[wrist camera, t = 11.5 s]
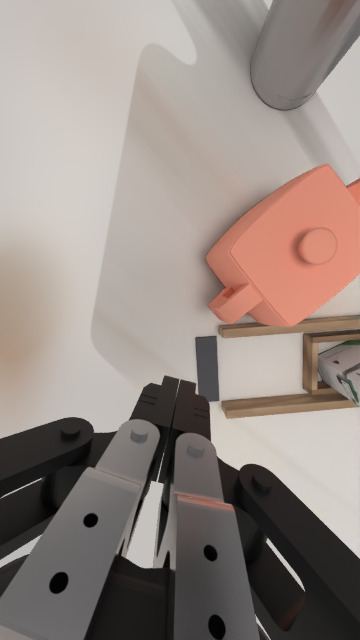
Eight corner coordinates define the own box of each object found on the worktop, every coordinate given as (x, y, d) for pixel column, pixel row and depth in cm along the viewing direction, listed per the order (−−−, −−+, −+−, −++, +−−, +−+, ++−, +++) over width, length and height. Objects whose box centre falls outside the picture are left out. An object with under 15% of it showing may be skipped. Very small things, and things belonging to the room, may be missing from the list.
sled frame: (303, 333, 39) (312, 337, 36) (384, 327, 39) (399, 330, 37) (302, 388, 40) (311, 395, 37) (381, 381, 40) (395, 387, 38)
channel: (218, 325, 38) (223, 329, 35) (398, 312, 39) (417, 314, 36) (222, 408, 40) (226, 418, 37) (393, 393, 41) (410, 402, 38)
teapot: (298, 165, 35) (387, 89, 21) (351, 238, 37) (464, 214, 23) (177, 274, 36) (183, 270, 22) (233, 339, 38) (272, 373, 24)
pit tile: (195, 337, 38) (195, 338, 37) (215, 335, 38) (216, 336, 38) (199, 401, 39) (199, 402, 39) (218, 399, 40) (219, 400, 39)
